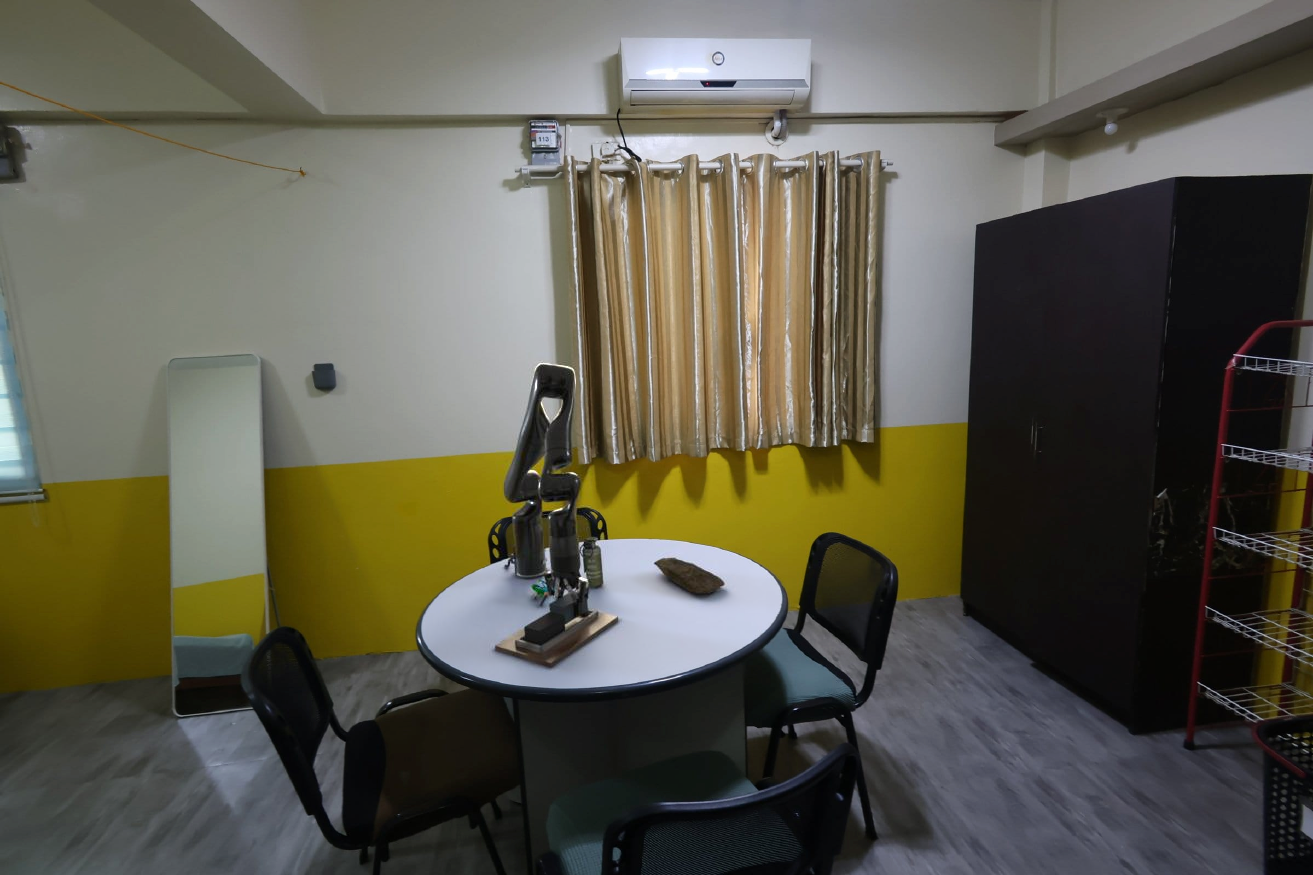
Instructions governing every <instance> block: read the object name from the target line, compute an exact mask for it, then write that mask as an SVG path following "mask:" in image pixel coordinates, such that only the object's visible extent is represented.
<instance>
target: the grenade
mask: <svg viewBox="0 0 1313 875" xmlns="http://www.w3.org/2000/svg"><path fill="white" fill-rule="evenodd" d="M598 540H599V539H598V537H596V536H591V537H590V536H588V537H587V538H584V540H583V543H582V545H581V546H579V548H580V557H582V562H583V563H582V564H583V574H585V579H588V578H589V579H590V581H591V582H590V589H596V588H601V587H602V586H603V584H604V574H603V572H604V571H603V561H602V550H601V547H600V545H597V544H596V543H597V541H598Z"/></svg>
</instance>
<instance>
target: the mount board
mask: <svg viewBox="0 0 1313 875" xmlns="http://www.w3.org/2000/svg"><path fill="white" fill-rule="evenodd" d="M618 621H619V616H617V615H613V614H608V613H606V612H605V613H604V612H600V611H598V610H596V609H590V608H588V611H586V612H584V613H583V614H581V615H580V616H579V617H577V618H575V619H573V620H572V621H570V622H569V623H567V624H565V631H563V632H562V633H560V634H559V635H557V636H556V637H554V638H553V639H551V640H549V641H548V642H546V643H545V644H543V645H542V646H540V645H537V644H533V643H530V642H527V641H525V631H524V628H522V629H521V630H519V631H517V632H515V633H513V634H512V635H510V636H509V637H507V638H505V639H503V640H502V641H500V642H499V643H496V644H495V645H494V650H495V651H497V652H500V653H503V654H507V655H510V656H512V657H515V658H519V659H522V660H525V661H528V662H531V663H535V664H538V665H540V666H544V667H547V668H550V669H552V668H553V667H555V666H556V665H558V664H559V663H560V662H562V661H563V660H564V659H566V658H568V657H569V656H570V655H572V654H573V653H574V652H576V651H578V650H579V649H580V648H582V647H583V646H584V645H586V644H587V643H589V642H590V641H591V640H593V639H595V638H596V637H597V636H599V635H600V634H602V633H603V632H605V631H606V630H607V629H609V628H610V627H611V626H613V625H615V624H616V623H617V622H618Z"/></svg>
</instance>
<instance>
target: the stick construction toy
mask: <svg viewBox="0 0 1313 875" xmlns="http://www.w3.org/2000/svg"><path fill="white" fill-rule="evenodd" d="M540 582H541V585H542V586H541V585H539V584H536V583H535V584H532V585H531V589H532V590H533V591H534V592H535V595H534V600H537V598H539V596H540V595H541V596H543V597H542V599H541V601H540V603H539V607H543V606H544V604H545V602H546V601H547V598H549V597H550V595H549V593H548V589H547V586H546V582H545V580H543V579H541V578H539V579H538V581H537V583H540ZM552 590H553V586H552Z"/></svg>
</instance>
